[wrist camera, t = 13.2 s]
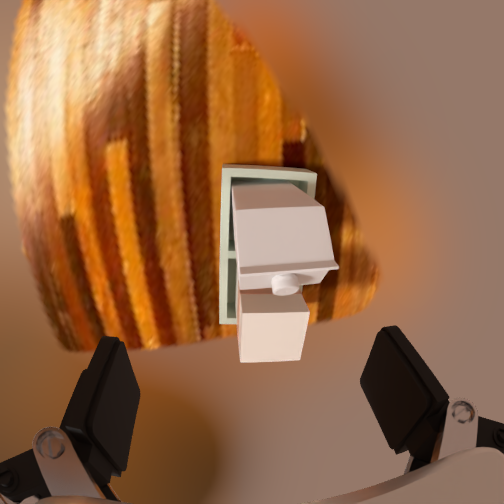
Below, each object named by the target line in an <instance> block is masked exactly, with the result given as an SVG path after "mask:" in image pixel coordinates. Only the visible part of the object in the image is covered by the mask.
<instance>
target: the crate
mask: <svg viewBox="0 0 504 504" xmlns="http://www.w3.org/2000/svg"><path fill="white" fill-rule="evenodd" d="M270 179H286V180H288V181H289V182H290V183H292V184H293V185H295V186H296V187H297V188H299V189H300V190H302V191H303V192H304V193H306V194H307V195H309V196H310V197H311V198H313V199H314V198H315V189H316V179H317V173H315V172H312V171H310V170H308V169H302V168H290V167H276V166H259V165H236V164H223V165H222V189H221V224H220V324H237V319H236V307H235V268H236V251H235V241H234V230H233V212H232V194H231V182H232V181H246V180H270ZM299 288H300V290H301V293H302V288H303V285H299Z"/></svg>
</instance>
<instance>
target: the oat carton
mask: <svg viewBox="0 0 504 504" xmlns="http://www.w3.org/2000/svg"><path fill="white" fill-rule="evenodd" d="M235 307H236V319H237V337H238V343H239V354H240V362H274V361H291V360H300V357H301V353H302V348H303V343H304V338H305V333H306V329H307V324H308V319H309V313H310V311H309V309H308V307H307V305H306V303H305V300H304V298H303V296H302V293H301V290H300V288H299V290H298V291H297V292H296V293H294V294H290V295H284V296H278V295H274V294H273V292H272V288H261V289H248V290H240V287H239V278H238V269H237V260H236V268H235Z"/></svg>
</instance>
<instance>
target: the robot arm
mask: <svg viewBox="0 0 504 504" xmlns="http://www.w3.org/2000/svg"><path fill="white" fill-rule="evenodd" d="M360 384H361V387H362V389H363V391H364V393H365V395H366V398H367V400H368V402H369V404H370V406H371V408H372V410H373V412H374V414H375V416H376V419H377V420H378V423H379V425H380V427H381V429H382V432H383V433H384V436H385V438H386V440H387V442H388V445H389V447H390V448H391V449H394V451H395V453H396V454H399V453H402V452H405V451H407V450H409V453H410V457H409V460H408V463H407V466H406V469H405V472H404V475H402V476H399V477H397V478H394V479H391V480H388V481H386V482H383V483H380V484H377V485H374V486H371V487H368V488H364V489H361V490H358V491H355V492H351V493H347V494H343V495H339V496H335V497H331V498H327V499H322V500H318V501H312V502H307V503H302V504H504V424H503V423H499V422H496V421H493V420H489V419H486V418H482V417H479V416H478V410H477V408H476V406H475V405H474V404H473V403H472V402H471V401H470V400H468V399H465V398H455V399H453V400H452V401H451V402H449V401H448V399H449V396H448V394H447V393H446V392H445V390H444V389H443V387H442V386H441V384H440V383H439V381H438V380H437V378H436V377H435V376H434V374H433V373H432V371H431V370H430V369H429V367H428V366H427V365H426V363H425V362H424V360H423V359H422V358H421V356H420V355H419V354H418V352H417V351H416V350H415V349H414V347H413V346H412V344H411V343H410V342H409V340H408V339H407V338H406V336H405V335H404V334H403V333H402V331H401V330H400V329H399V328H398V327H397V326H389V327H383V328H382V329H381V330H380V332H378V333H377V336H376V338H375V341H374V344H373V347H372V350H371V352H370V355H369V358H368V360H367V363H366V366H365V368H364V371H363V373H362V376H361V378H360ZM139 399H140V389H139V386H138V383H137V381H136V378H135V375H134V372H133V370H132V366H131V363H130V360H129V357H128V354H127V351H126V347H125V344H124V342H122V341H120V340H119V338H118V337H109V336H103V337H102V338H101V340H100V342H99V344H98V346H97V348H96V350H95V353H94V355H93V357H92V359H91V361H90V364H89V366H88V368H87V369H85V370H83V372H82V373H81V376H80V378H79V380H78V382H77V385H76V387H75V390H74V392H73V394H72V397H71V399H70V402H69V404H68V407H67V409H66V412H65V415H64V417H63V420H62V423H61V425H60V428H56V427H47V428H43V429H42V430H40V431H39V432H38V433H37V434H36V435H35V437H34V439H33V444H32V447H33V448H32V449H30V450H28V451H26V452H24V453H22V454H20V455H17V456H15V457H13V458H10V459H8V460H6V461H3V462H1V463H0V504H131V503H125V502H121V500H120V499H119V497H118V496H117V495H116V493H115V492H114V490H113V489H112V487H111V486H110V484H109V483H110V479H111V475H112V476H117V477H121V472H122V471H125V470H126V468H127V462H128V456H129V450H130V444H131V439H132V434H133V428H134V424H135V419H136V414H137V409H138V405H139Z"/></svg>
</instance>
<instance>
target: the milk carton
mask: <svg viewBox="0 0 504 504" xmlns="http://www.w3.org/2000/svg"><path fill="white" fill-rule="evenodd" d="M231 194H232V212H233V230H234V241H235V251H236V260H237V269H238V278H239V287H240V290H248V289H261V288H272V292H273V294H274V295H278V296H284V295H290V294H294V293H296V292H297V291H298V290H299V285H307V284H317V283H320V282H321V281H322V279H323V278H324V277H325V275H326V274H327V272H328V271H329V270H334V269H339V266H338V264H337V263H336V262H335V261H334V255H333V250H332V244H331V238H330V233H329V228H328V223H327V217H326V212H325V208H324V206H322V205H321V204H319V203H318V202H317V201H315V200H314V199H313V198H311V197H310V196H309V195H307V194H306V193H304V192H303V191H302V190H300V189H299V188H297V187H296V186H295V185H293V184H292V183H290V182H289V181H288V180H286V179H270V180H246V181H232V182H231Z"/></svg>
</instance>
